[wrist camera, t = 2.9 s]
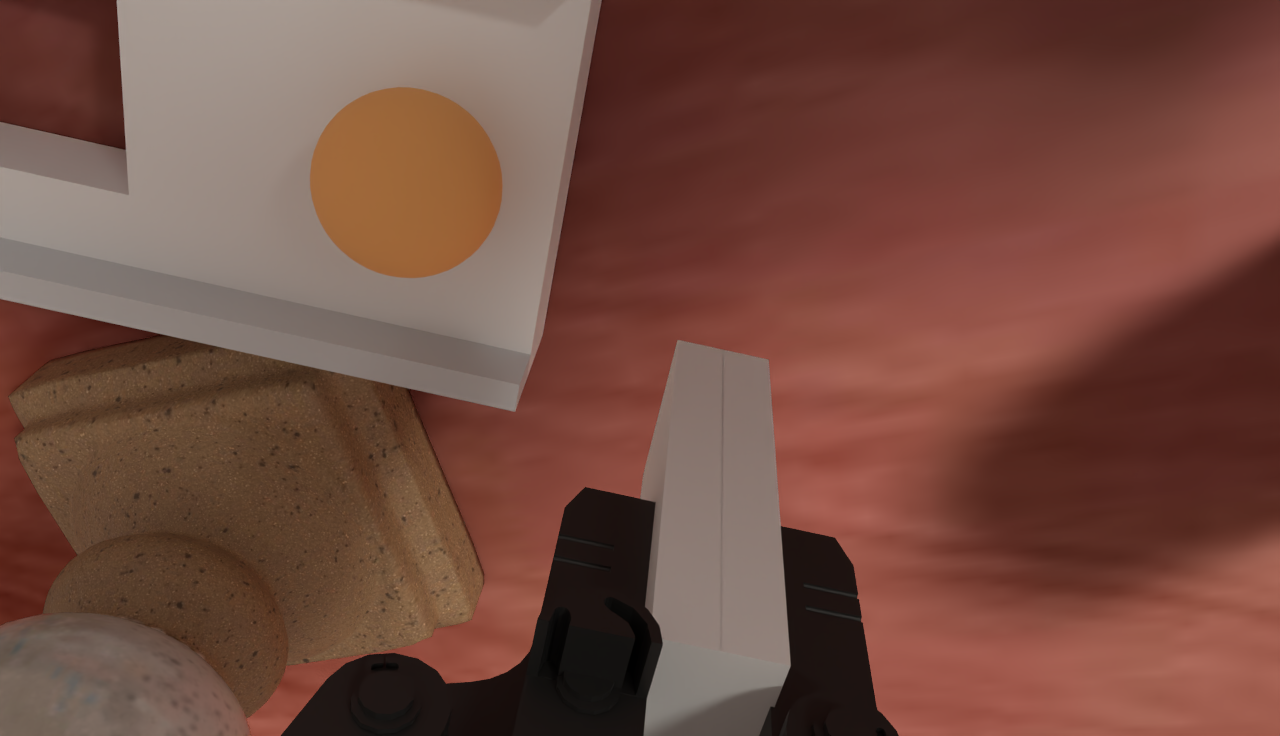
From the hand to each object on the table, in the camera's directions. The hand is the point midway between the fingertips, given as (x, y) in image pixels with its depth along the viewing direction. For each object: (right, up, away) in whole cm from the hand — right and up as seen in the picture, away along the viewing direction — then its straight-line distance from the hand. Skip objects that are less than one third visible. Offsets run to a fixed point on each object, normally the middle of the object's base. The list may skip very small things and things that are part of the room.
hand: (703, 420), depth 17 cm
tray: (-11, +8, +9) cm, 17 cm away
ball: (-6, +5, +5) cm, 9 cm away
